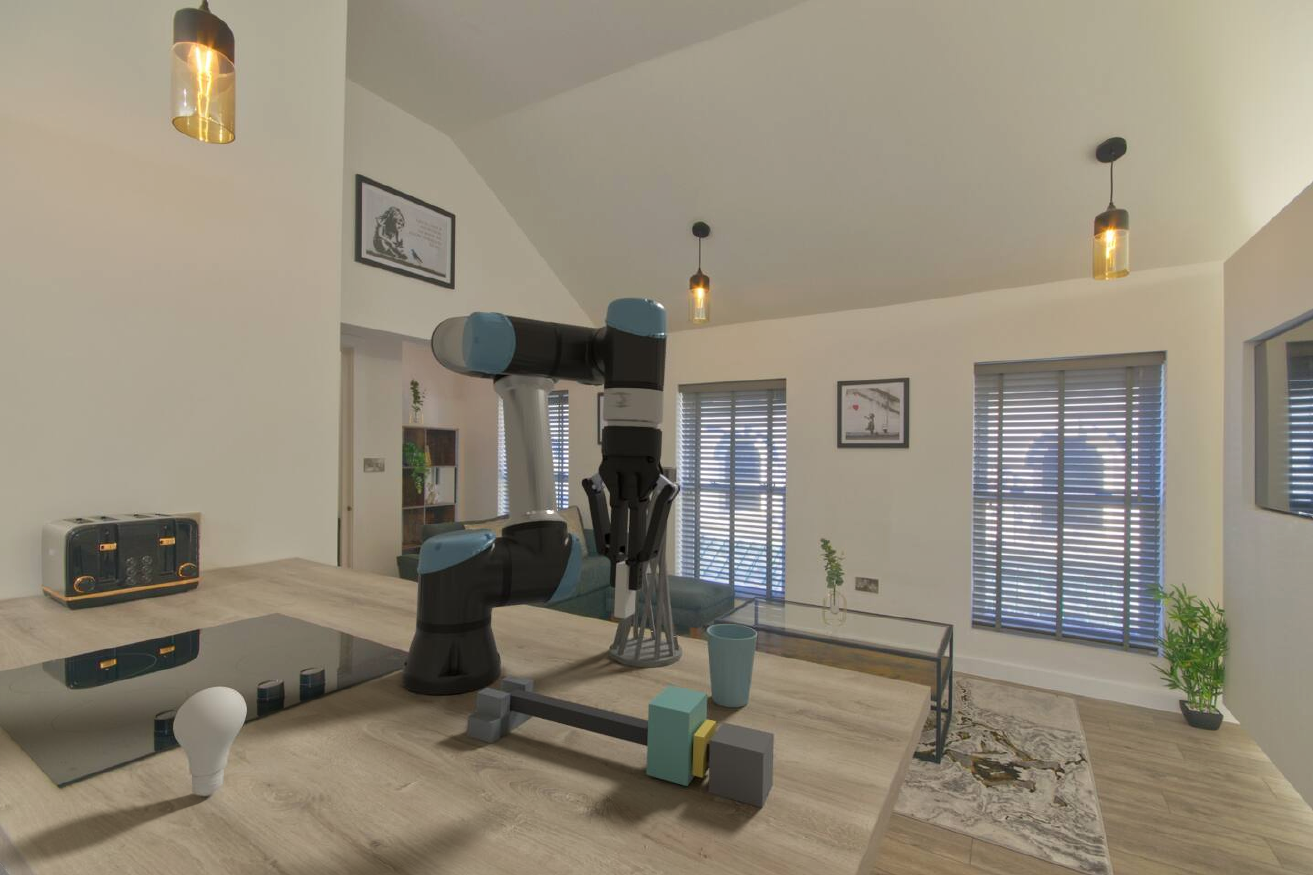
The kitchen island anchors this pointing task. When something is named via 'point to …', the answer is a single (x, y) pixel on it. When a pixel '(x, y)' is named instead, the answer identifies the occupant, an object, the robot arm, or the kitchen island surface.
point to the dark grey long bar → (606, 723)
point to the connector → (741, 764)
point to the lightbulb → (209, 734)
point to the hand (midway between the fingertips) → (624, 614)
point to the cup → (731, 663)
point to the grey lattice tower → (650, 611)
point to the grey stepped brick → (497, 711)
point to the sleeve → (674, 733)
